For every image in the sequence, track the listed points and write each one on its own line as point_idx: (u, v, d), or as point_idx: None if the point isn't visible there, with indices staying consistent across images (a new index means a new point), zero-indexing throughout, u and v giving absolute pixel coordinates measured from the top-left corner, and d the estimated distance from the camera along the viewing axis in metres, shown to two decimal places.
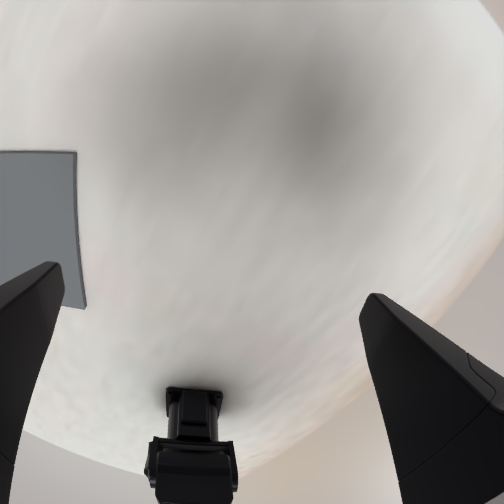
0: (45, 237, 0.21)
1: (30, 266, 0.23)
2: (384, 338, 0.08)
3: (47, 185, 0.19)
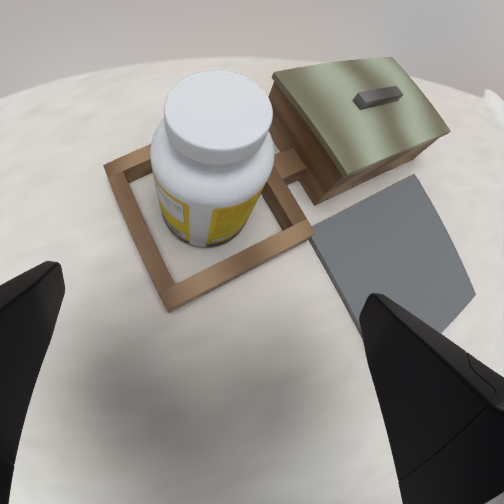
0: (428, 307, 0.24)
1: None
2: (384, 338, 0.08)
3: (456, 287, 0.25)
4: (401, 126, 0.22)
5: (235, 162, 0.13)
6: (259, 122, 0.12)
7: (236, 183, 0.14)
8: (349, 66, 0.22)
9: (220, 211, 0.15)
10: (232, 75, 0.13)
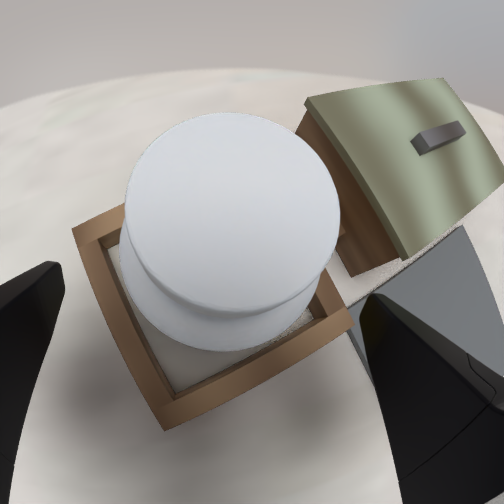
0: None
1: None
2: (384, 338, 0.08)
3: (496, 357, 0.19)
4: (464, 177, 0.16)
5: None
6: (317, 238, 0.06)
7: (264, 324, 0.08)
8: (401, 90, 0.17)
9: None
10: (260, 124, 0.07)
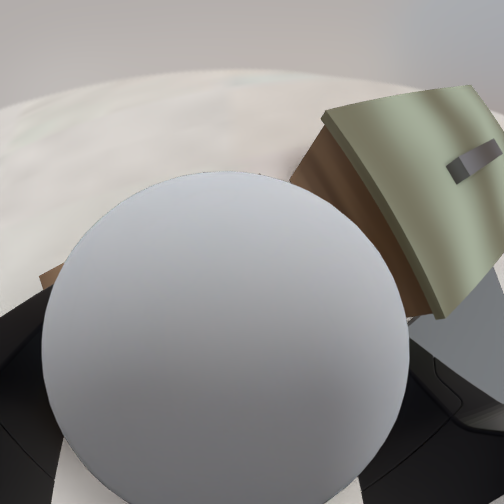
0: None
1: None
2: None
3: None
4: (500, 207, 0.13)
5: None
6: (372, 414, 0.03)
7: None
8: (431, 101, 0.13)
9: None
10: (281, 196, 0.04)
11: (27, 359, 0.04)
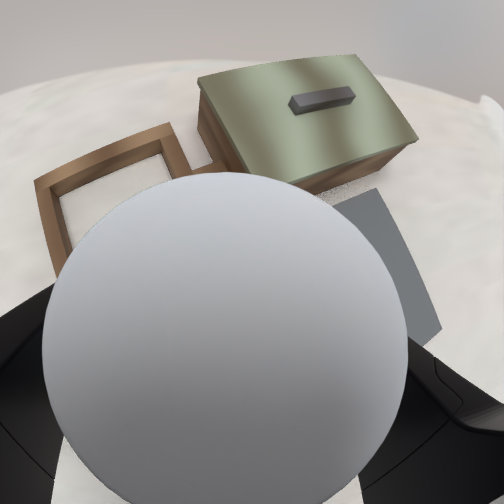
0: None
1: None
2: None
3: (416, 320, 0.23)
4: (348, 134, 0.20)
5: None
6: (371, 414, 0.03)
7: None
8: (294, 66, 0.20)
9: None
10: (280, 197, 0.04)
11: (26, 359, 0.04)
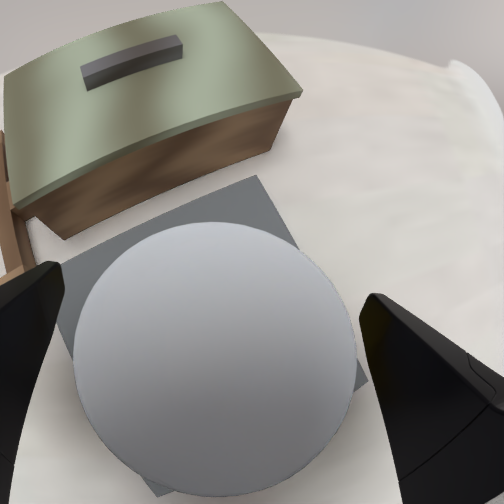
0: None
1: None
2: (384, 338, 0.08)
3: None
4: (161, 98, 0.12)
5: None
6: (324, 410, 0.05)
7: None
8: (118, 30, 0.13)
9: None
10: (252, 242, 0.05)
11: None
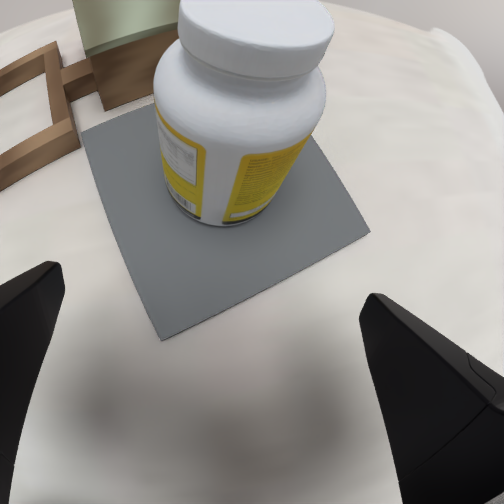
0: (253, 234, 0.17)
1: (185, 222, 0.17)
2: (384, 338, 0.08)
3: (323, 213, 0.19)
4: None
5: (284, 76, 0.08)
6: (318, 26, 0.07)
7: (280, 115, 0.09)
8: None
9: (252, 159, 0.10)
10: None
11: None
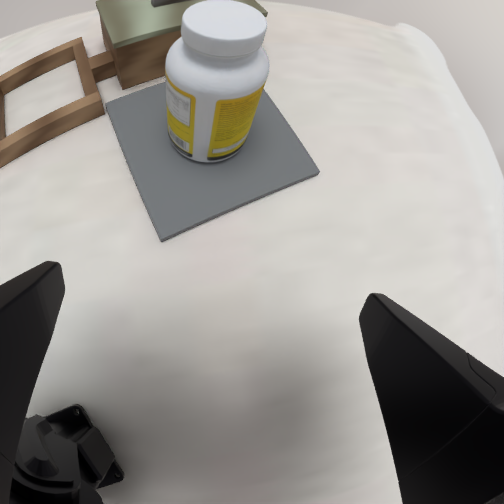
0: (230, 169, 0.24)
1: (181, 161, 0.23)
2: (384, 338, 0.08)
3: (282, 157, 0.25)
4: None
5: (236, 55, 0.14)
6: (256, 27, 0.13)
7: (237, 77, 0.15)
8: None
9: (222, 103, 0.17)
10: (236, 2, 0.14)
11: None
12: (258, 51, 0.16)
